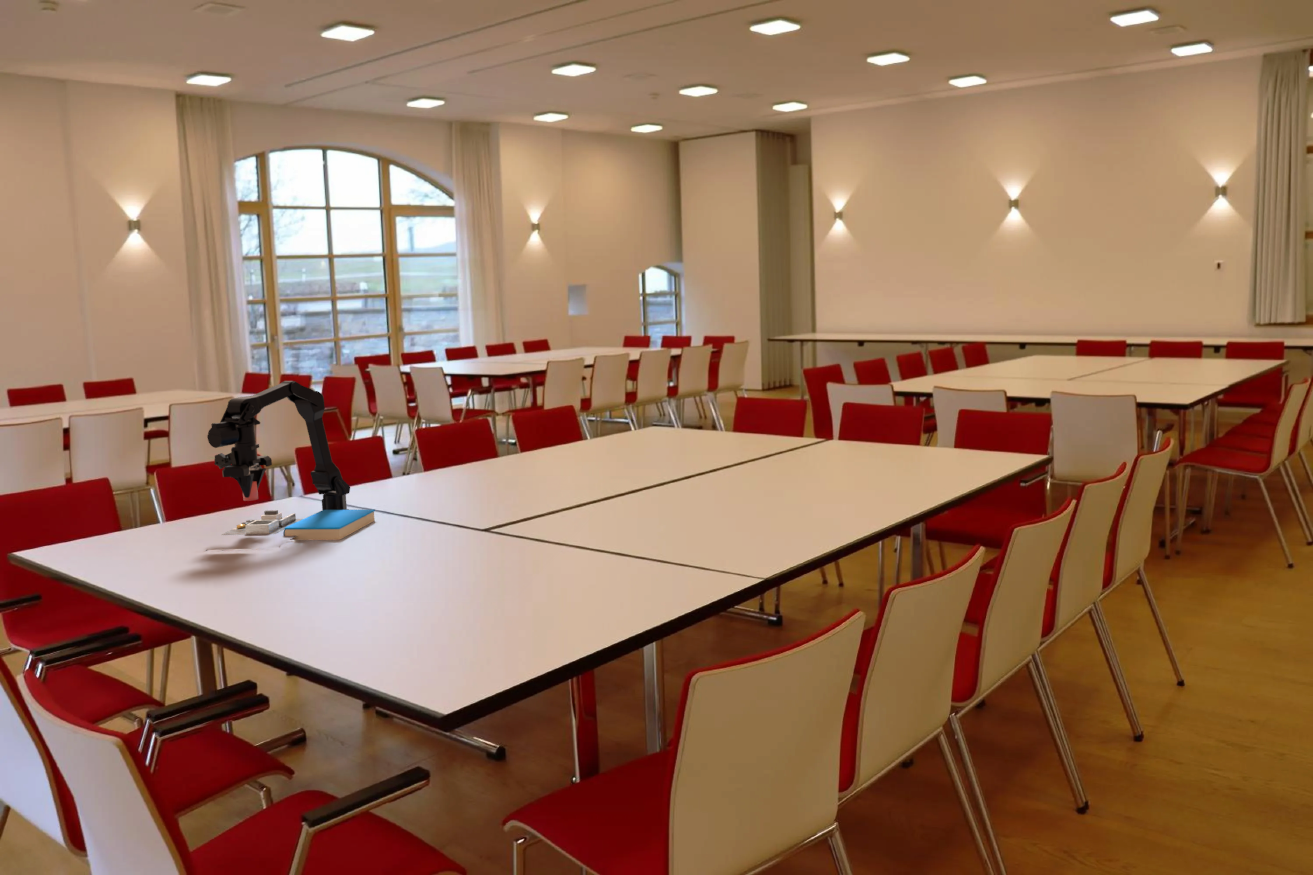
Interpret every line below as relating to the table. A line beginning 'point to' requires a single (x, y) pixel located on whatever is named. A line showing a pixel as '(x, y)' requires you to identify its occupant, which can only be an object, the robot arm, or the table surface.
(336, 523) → the book
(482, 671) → the table surface
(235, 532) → the panel
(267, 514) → the breaker
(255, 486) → the cap
